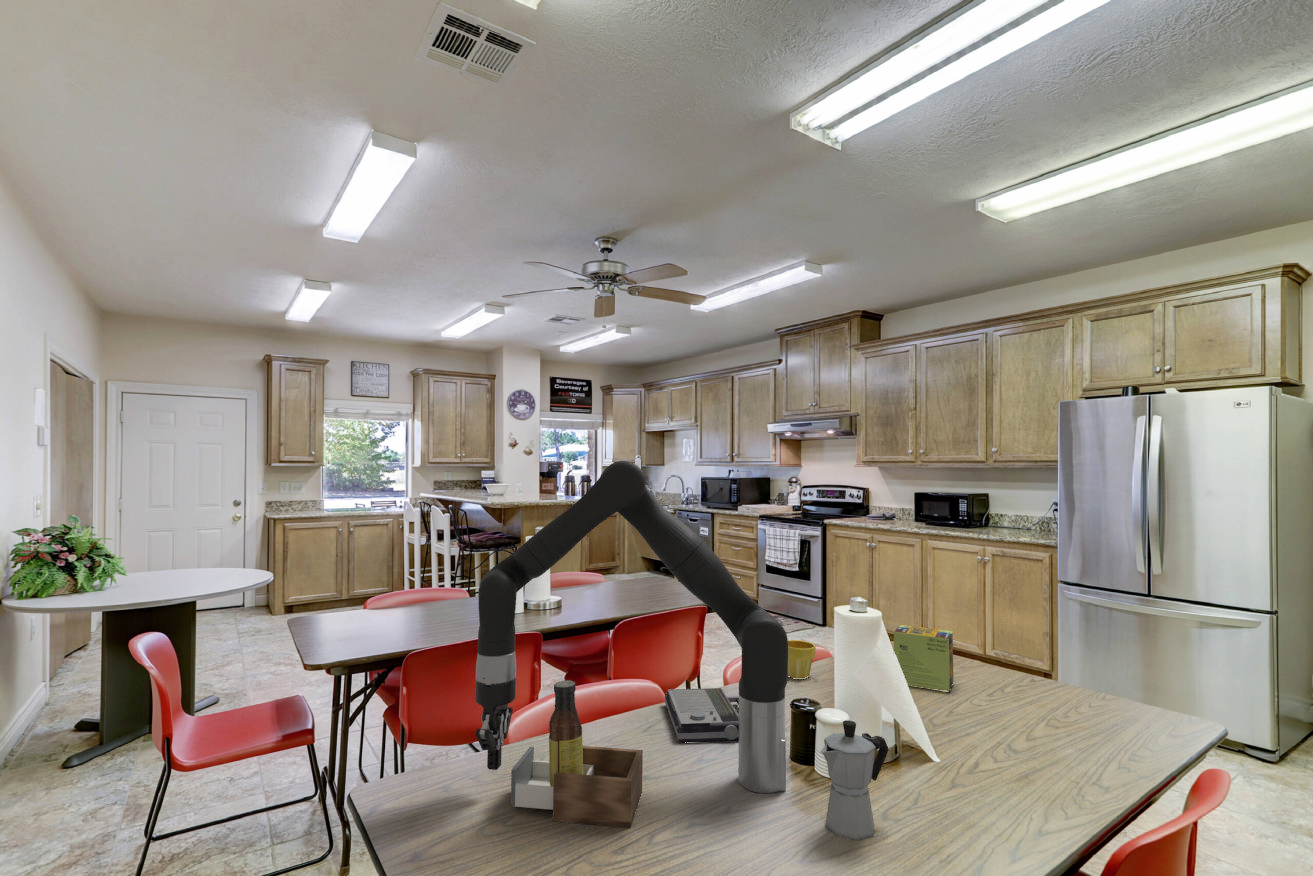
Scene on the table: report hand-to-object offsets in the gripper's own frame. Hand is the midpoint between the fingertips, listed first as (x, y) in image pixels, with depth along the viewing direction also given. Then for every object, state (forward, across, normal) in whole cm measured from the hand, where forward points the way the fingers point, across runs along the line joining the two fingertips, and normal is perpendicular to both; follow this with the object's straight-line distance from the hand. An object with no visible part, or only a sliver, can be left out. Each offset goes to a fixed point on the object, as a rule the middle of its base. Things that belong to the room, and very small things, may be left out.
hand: (494, 768), depth 122 cm
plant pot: (+6, -84, +63) cm, 105 cm away
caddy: (+6, 0, +21) cm, 21 cm away
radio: (+6, -43, +39) cm, 58 cm away
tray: (+4, 0, +12) cm, 13 cm away
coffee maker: (+6, -1, +67) cm, 67 cm away
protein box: (+6, -83, +100) cm, 130 cm away
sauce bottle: (+4, 0, +14) cm, 14 cm away
